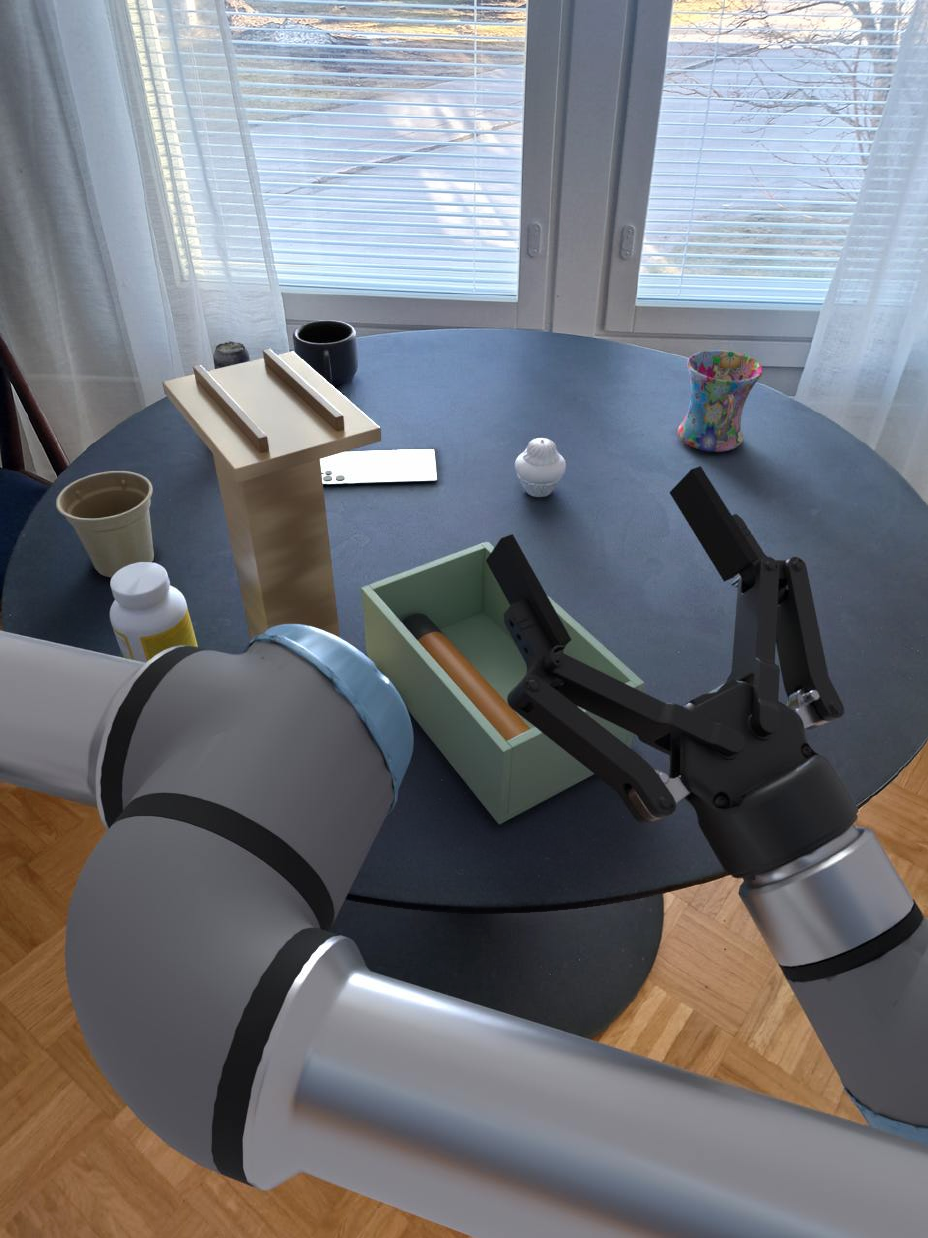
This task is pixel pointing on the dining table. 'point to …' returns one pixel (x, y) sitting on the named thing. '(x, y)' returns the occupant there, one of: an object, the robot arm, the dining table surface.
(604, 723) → the bin
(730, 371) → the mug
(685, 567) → the dining table surface
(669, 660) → the dining table surface
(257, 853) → the robot arm
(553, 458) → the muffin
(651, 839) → the dining table surface
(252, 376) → the stand
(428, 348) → the dining table surface
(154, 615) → the pill bottle
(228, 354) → the dark grey pillar
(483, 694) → the orange brown cylinder
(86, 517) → the flower pot
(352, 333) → the mug
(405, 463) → the smartphone
